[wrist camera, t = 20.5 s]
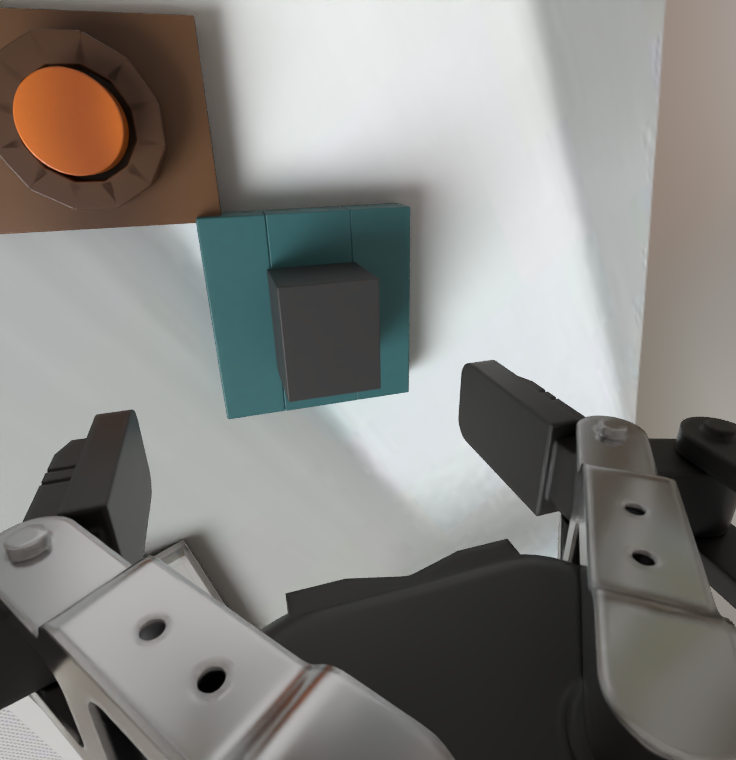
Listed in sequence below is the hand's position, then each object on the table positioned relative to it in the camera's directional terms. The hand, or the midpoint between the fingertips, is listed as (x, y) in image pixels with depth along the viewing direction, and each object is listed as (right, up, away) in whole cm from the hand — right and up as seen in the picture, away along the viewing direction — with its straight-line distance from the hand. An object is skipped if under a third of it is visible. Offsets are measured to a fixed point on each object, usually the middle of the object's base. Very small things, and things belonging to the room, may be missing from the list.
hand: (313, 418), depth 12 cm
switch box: (-12, +13, +12) cm, 22 cm away
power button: (-11, +12, +10) cm, 19 cm away
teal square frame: (-2, +6, +19) cm, 20 cm away
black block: (-2, +6, +19) cm, 20 cm away
